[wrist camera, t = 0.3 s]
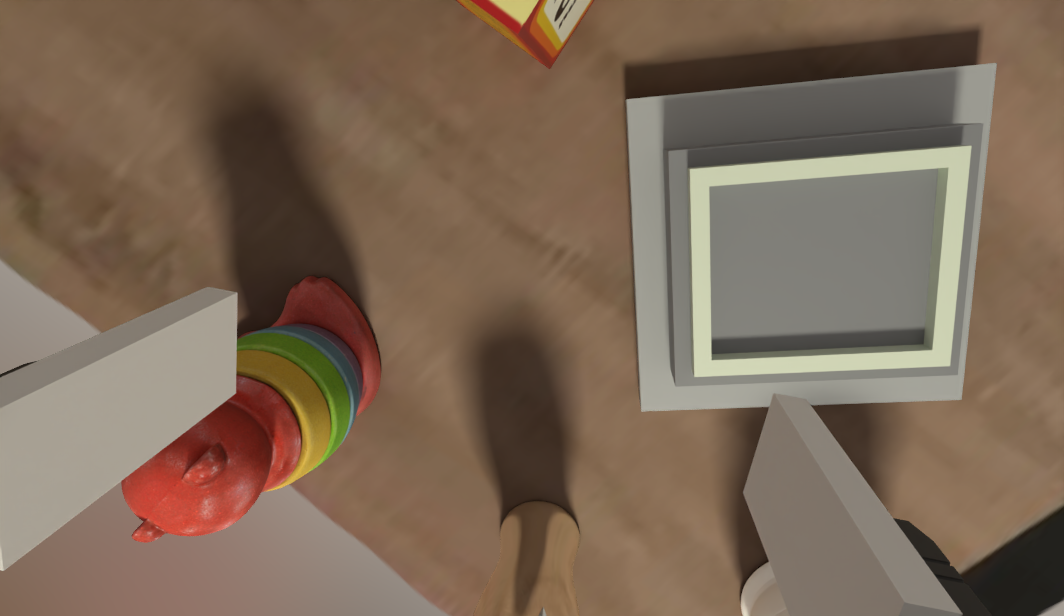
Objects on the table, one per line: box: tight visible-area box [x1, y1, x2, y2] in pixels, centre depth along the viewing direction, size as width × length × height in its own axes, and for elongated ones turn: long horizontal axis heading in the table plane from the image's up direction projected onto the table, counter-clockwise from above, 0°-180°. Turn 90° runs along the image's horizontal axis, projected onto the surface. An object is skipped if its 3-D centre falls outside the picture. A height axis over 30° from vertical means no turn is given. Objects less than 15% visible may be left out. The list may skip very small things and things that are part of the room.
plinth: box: [625, 63, 997, 411], centre depth 37 cm, size 20×20×6 cm
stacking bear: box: [122, 276, 381, 542], centre depth 37 cm, size 11×10×18 cm
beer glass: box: [473, 501, 580, 616], centre depth 41 cm, size 7×7×15 cm
